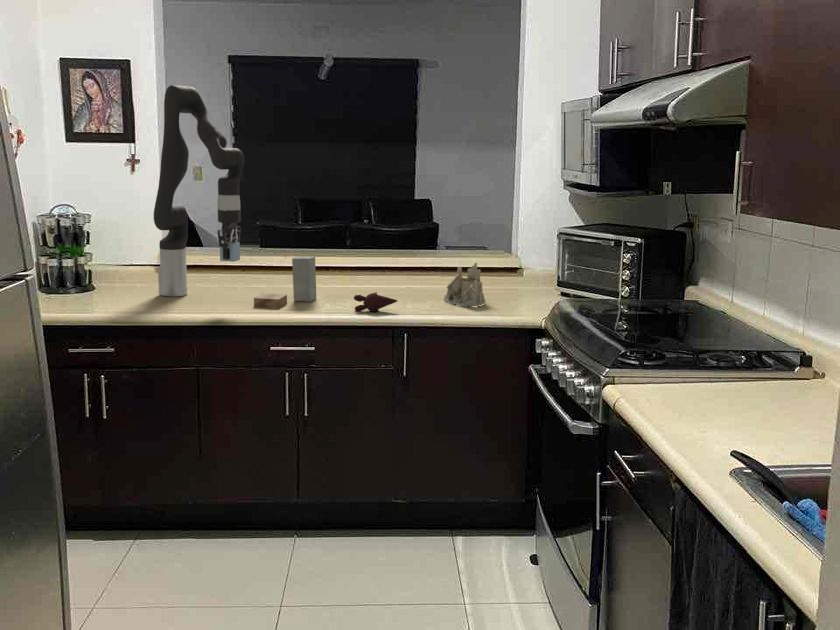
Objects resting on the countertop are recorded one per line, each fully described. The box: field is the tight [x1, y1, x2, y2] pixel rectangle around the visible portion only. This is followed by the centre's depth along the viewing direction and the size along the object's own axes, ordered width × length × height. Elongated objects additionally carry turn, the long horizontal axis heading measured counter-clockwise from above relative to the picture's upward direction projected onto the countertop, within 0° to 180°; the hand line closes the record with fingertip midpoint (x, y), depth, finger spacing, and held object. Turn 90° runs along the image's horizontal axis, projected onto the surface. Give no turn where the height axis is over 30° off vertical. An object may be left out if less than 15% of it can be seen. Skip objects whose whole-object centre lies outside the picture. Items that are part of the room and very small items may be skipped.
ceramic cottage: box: [443, 262, 486, 307], centre depth 319 cm, size 16×16×15 cm
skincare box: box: [291, 255, 317, 303], centre depth 316 cm, size 8×7×16 cm
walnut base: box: [253, 292, 288, 309], centre depth 307 cm, size 9×9×4 cm
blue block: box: [219, 241, 241, 263], centre depth 296 cm, size 5×5×6 cm
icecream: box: [353, 291, 398, 313], centre depth 301 cm, size 7×7×15 cm
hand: (229, 257), depth 297 cm, fingers closed on blue block, 5 cm apart
